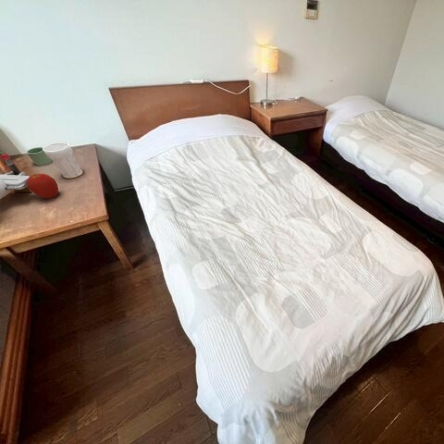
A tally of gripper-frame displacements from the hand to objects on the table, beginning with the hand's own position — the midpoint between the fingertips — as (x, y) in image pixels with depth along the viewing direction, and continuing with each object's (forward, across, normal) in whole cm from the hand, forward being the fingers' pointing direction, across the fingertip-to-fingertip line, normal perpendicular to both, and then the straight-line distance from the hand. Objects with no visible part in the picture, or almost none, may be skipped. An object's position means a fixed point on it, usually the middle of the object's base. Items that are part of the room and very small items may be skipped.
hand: (19, 172), depth 126 cm
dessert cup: (+25, +11, +9) cm, 28 cm away
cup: (+14, -13, +9) cm, 21 cm away
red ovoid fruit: (-7, -15, +9) cm, 19 cm away
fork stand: (-1, 0, +9) cm, 9 cm away
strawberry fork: (-1, 0, +9) cm, 9 cm away
